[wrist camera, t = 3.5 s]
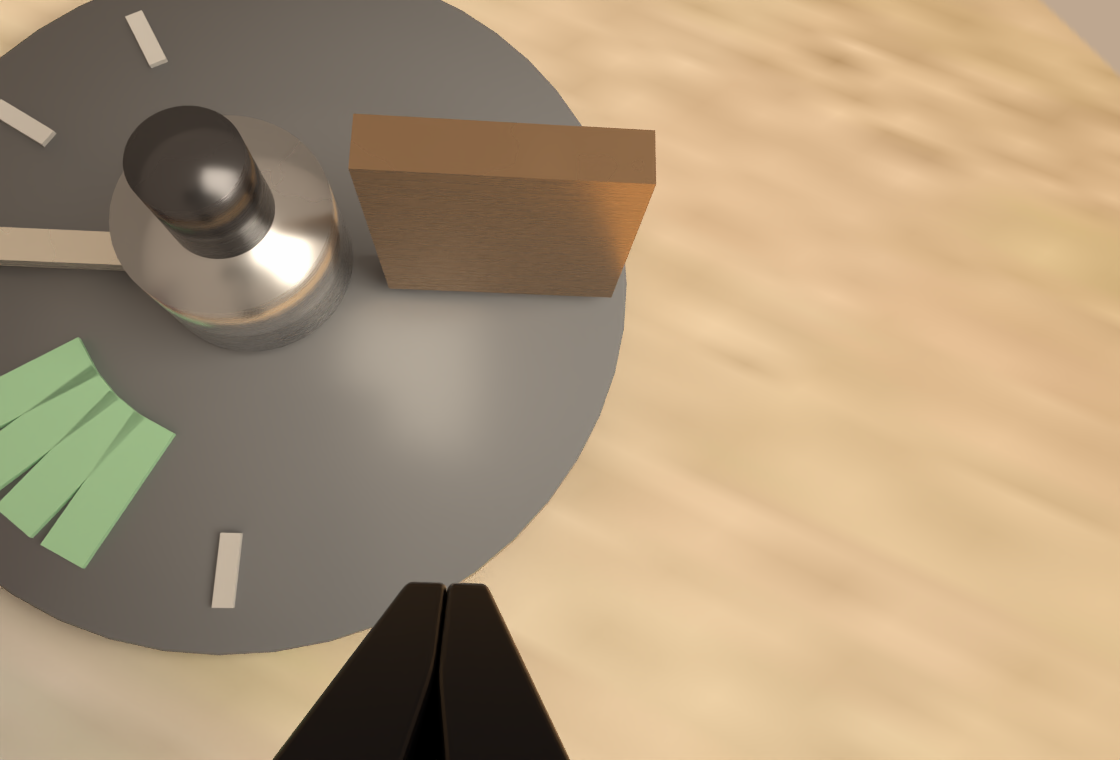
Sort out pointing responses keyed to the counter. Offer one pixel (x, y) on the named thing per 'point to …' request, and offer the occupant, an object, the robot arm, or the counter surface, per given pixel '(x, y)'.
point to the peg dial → (388, 205)
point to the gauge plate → (272, 375)
